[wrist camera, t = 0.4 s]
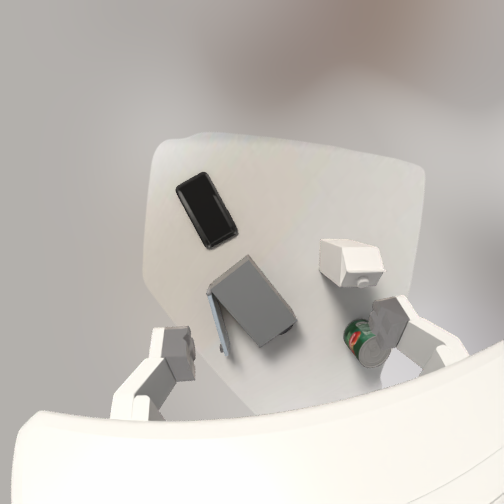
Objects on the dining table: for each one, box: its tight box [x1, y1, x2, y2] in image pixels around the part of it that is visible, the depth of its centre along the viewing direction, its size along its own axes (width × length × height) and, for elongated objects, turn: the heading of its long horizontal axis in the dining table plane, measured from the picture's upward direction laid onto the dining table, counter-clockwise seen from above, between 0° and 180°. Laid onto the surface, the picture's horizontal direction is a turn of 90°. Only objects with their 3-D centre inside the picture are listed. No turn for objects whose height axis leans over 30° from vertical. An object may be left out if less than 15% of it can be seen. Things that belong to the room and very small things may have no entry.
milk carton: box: [319, 239, 387, 288], centre depth 55 cm, size 7×7×19 cm
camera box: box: [210, 255, 297, 347], centre depth 62 cm, size 17×10×7 cm, turn 38°
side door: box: [206, 284, 230, 356], centre depth 62 cm, size 15×2×6 cm, turn 13°
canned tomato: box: [343, 319, 391, 368], centre depth 62 cm, size 8×8×11 cm
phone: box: [176, 172, 237, 248], centre depth 62 cm, size 8×1×15 cm
